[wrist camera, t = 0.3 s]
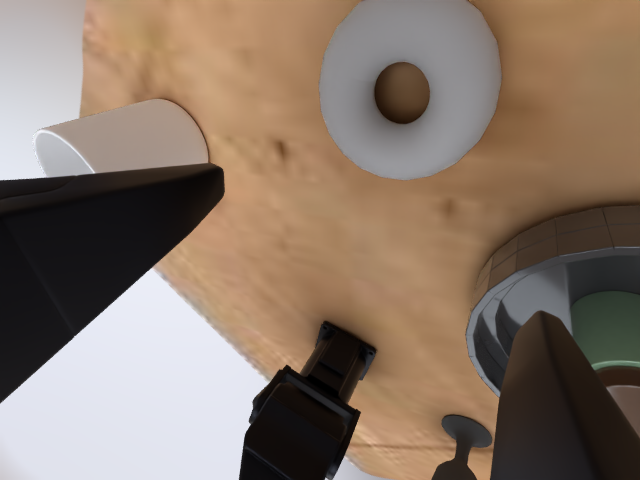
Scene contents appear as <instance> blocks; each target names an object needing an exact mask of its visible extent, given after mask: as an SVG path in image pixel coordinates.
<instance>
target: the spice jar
mask: <svg viewBox="0 0 640 480" xmlns="http://www.w3.org/2000/svg"><path fill="white" fill-rule="evenodd" d="M569 326H570V334H571V335H572V337H573V338H574V340H575V341H576V343H577V344H578V346H579V347H580V349H581V350H582V352H583V353H584V355H585V356H586V358H587V359H588V361H589V362H590V364H591V365H592V367H593V368H594V370H595V371H596V373H597V374H598V376H599V377H600V379H601V380H602V382H603V383H604V385H605V386H606V388H607V389H608V391H609V392H610V394H611V395H612V397H613V398H614V400H615V401H616V403H617V404H618V406H619V407H620V409H621V410H622V412H623V413H624V415H625V416H626V418H627V419H628V421H629V422H630V424H631V425H632V427H633V428H634V430H635V431H636V433H637V434H638V436H639V437H640V295H638V294H634V293H630V292H624V291H602V292H596V293H592V294H589V295H587V296H584V297H582V298H581V299H579V300H578V301H576V302H575V303H574V304H573V305H572V307H571V308H570V311H569Z"/></svg>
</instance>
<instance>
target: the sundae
mask: <svg viewBox="0 0 640 480" xmlns="http://www.w3.org/2000/svg"><path fill="white" fill-rule="evenodd" d="M442 427H443V428H444V430H445V431H446V433H447V434H448V435H449V436H451V437H452V438H453V439H455V440H456V443H457V446H456V454H455V458H454V459H453V460H451V461H446V462H444V463H442V464H440V465H439V466H438V467H437V469H436V471H435V473H434V475H433V477H432V480H477V478H476V477H475V475H474V473H473V472H472V471H471V470H470V469H469V467H468V465H467V463H468V455H469V452H470V449H471V447H478V448H484V447H488V446H489V445H490V444H491V443H492V437H491V435H490V434H489V432H488V431H487V430H486V429H485V428H484V427H483V426H482V425H480V424H479V423H477V422H475V421H473V420H471V419H468V418H466V417H462V416H456V415H451V416H446V417H444V418H443V419H442Z"/></svg>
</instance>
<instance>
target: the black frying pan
mask: <svg viewBox="0 0 640 480" xmlns="http://www.w3.org/2000/svg"><path fill="white" fill-rule="evenodd" d="M602 291H624V292H630V293H634V294H638V295H640V205H632V206H612V207H602V208H601V207H599V208H595V209H591V210H586V211H582V212H578V213H573V214H569V215H565V216H560V217H556V218H553V219H551V220H548V221H546V222H544V223H542V224H539V225H537V226H535V227H533V228H531V229H528V230H526V231H524V232H522V233H520V234H519V235H517V236H516V237H514V238H513V239H512V240H511V241H509V242H508V243H507V244H505V245H504V246H503V247H502V248H500V249H499V250H498V251H496V252H495V253H494V254H493V255H492V257H491V258H490V259H489V261H488V262H487V264H486V265H485V267H484V268H483V269H482V271H481V272H480V274H479V276H478V280H477V284H476V288H475V292H474V296H473V300H472V305H471V310H470V314H469V319H468V324H467V328H466V334H465V335H466V341H467V348H468V354H469V357H470V359H471V361H472V363H473V365H474V367H475V368H476V370H477V372H478V374H479V376H480V377H481V379H482V380H483V381H484V382H485V383H486V384H487V385H488V386H489V388H490V389H491V390H492V391H493V392H494V393H495V394H496V395H497V396H498V397H499V398H500V392H501V388H502V384H503V380H504V376H505V372H506V368H507V364H508V360H509V357H510V353H511V349H512V345H513V341H514V337H515V335H516V333H517V331H518V330H519V329H520V328H521V327H522V326H523V325H524V324H525V323H526V321H527V320H528V319H529V318H530V317H531V316H532V315H533V314H534V313H535V312H537V311H539V310H543V311H545V312H547V313H550V314H552V315H554V316H556V317H558V318H560V319H561V321H562V322H563V323H564V325H565V326H566V328H567V329H568V331H569V332H570V326H569V311H570V308H571V307H572V305H573V304H574V303H575V302H576V301H578V300H579V299H581V298H582V297H584V296H587V295H589V294H592V293H596V292H602Z"/></svg>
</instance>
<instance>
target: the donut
mask: <svg viewBox="0 0 640 480" xmlns="http://www.w3.org/2000/svg"><path fill="white" fill-rule="evenodd" d="M396 62H408V63H411V64H414V65H415V66H416V67H418V68H419V69H420V70H421V71H422V72H423V73H424V75H425V77H426V78H427V80H428V84H429V88H430V100H429V104H428V106H427V109H426V111H425V112H424V113H423V114H422V115H421V117H420V118H418V119H417V120H415V121H414V122H412V123H408V124H397V123H394V122H392V121H389V120H388V119H387V118H385V117H384V116H383V115H382V114H381V112H380V111H379V109H378V108H377V105H376V102H375V98H374V88H375V84H376V81H377V78H378V76H379V75H380V73H381V71H382V70H384V69H385V68H386V67H387V66H388V65H391V64H393V63H396ZM501 81H502V73H501V65H500V57H499V50H498V43H497V41H496V39H495V37H494V35H493V33H492V31H491V30H490V28H489V26H488V24H487V22H486V20H485V18H484V16H483V15H482V13H481V11H480V10H478V9H477V8H476V7H475V6H473V5H472V4H471V3H470V2H468V1H467V0H363V1H362V2H360V3H358V4H357V5H356V6H355V7H354V9H353V10H352V11H351V12H350V13H349V14H348V15H347V16H346V17H345V19H344V20H343V21H342V22H341V23H340V24H339V25H338V26H337V28H336V30H335V32H334V34H333V36H332V38H331V40H330V43H329V45H328V47H327V49H326V51H325V53H324V57H323V62H322V68H321V74H320V80H319V94H320V105H321V112H322V115H323V118H324V121H325V123H326V126H327V129H328V132H329V134H330V136H331V137H332V139H333V140H334V142H335V143H336V145H337V146H338V147H339V149H340V150H341V152H342V153H343V154H344V155H345V156H346V157H348V158H349V159H350V160H351V161H352V162H354V163H355V164H356V165H357V166H358V167H360V168H361V169H364V170H366V171H368V172H370V173H373V174H375V175H377V176H380V177H382V178H391V179H399V180H412V179H417V178H423V177H428V176H432V175H434V174H436V173H438V172H440V171H442V170H444V169H446V168H448V167H450V166H452V165H454V164H456V163H457V162H458V161H459V160H460V159H461V158H462V157H463V156H464V155H465V154H466V153H467V152H468V151H469V150H470V149H471V148H472V147H473V146H474V145H475V144H476V143H478V142H479V141H480V139H481V137H482V135H483V133H484V132H485V130H486V128H487V126H488V124H489V123H490V121H491V119H492V117H493V115H494V114H495V111H496V106H497V101H498V96H499V91H500V86H501Z"/></svg>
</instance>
